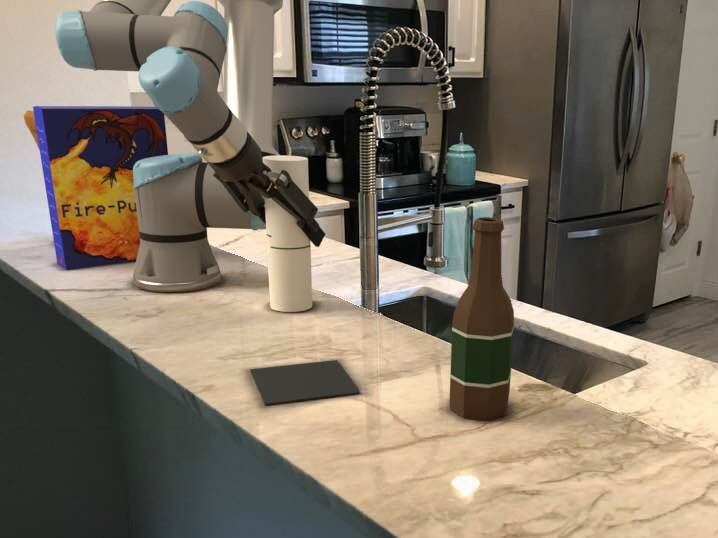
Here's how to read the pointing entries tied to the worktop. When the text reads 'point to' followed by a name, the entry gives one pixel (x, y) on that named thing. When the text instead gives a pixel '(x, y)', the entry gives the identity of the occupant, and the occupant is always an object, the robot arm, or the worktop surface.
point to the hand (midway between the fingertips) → (302, 236)
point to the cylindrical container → (288, 243)
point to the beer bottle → (482, 332)
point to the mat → (302, 382)
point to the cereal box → (95, 178)
